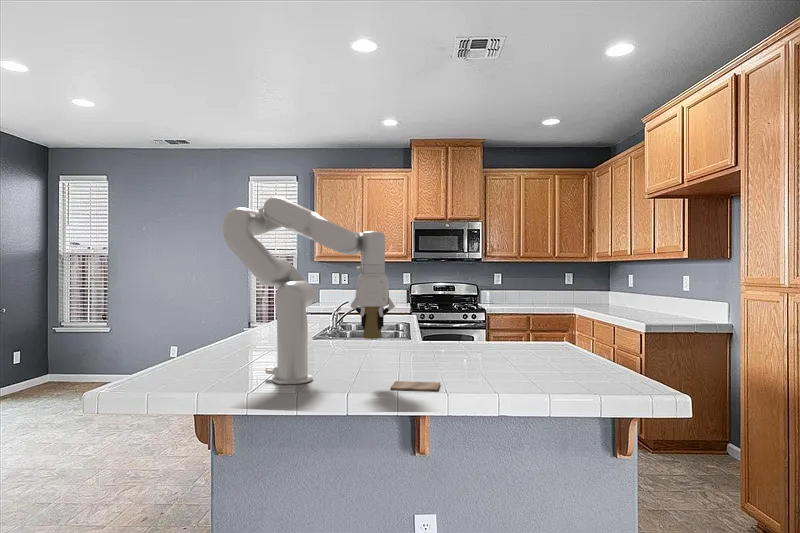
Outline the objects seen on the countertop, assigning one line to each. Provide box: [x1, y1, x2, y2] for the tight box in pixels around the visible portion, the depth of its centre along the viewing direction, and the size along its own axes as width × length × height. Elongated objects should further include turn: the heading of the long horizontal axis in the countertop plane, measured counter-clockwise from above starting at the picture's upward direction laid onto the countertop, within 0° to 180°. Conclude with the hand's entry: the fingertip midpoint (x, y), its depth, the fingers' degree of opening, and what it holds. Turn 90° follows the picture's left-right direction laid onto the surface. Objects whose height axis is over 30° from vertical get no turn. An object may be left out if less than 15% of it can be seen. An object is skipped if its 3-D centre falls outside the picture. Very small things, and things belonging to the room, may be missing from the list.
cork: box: [362, 307, 383, 340], centre depth 166 cm, size 6×6×11 cm
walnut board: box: [390, 380, 441, 392], centre depth 159 cm, size 14×9×1 cm, turn 82°
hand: (372, 328), depth 166 cm, fingers closed on cork, 4 cm apart
